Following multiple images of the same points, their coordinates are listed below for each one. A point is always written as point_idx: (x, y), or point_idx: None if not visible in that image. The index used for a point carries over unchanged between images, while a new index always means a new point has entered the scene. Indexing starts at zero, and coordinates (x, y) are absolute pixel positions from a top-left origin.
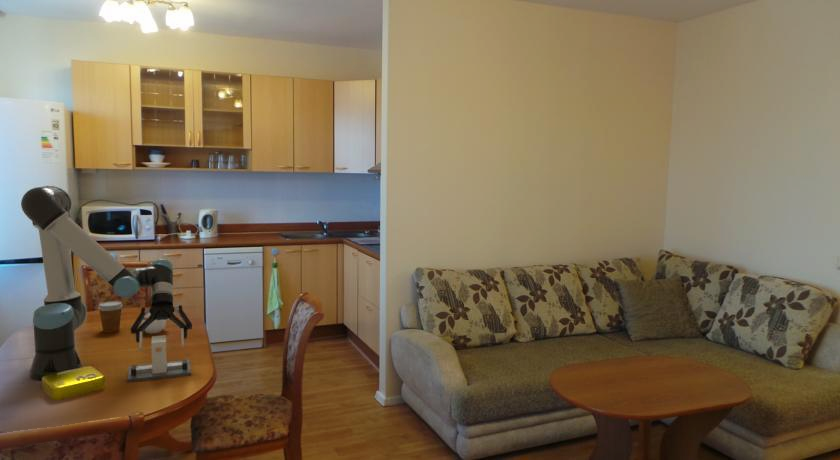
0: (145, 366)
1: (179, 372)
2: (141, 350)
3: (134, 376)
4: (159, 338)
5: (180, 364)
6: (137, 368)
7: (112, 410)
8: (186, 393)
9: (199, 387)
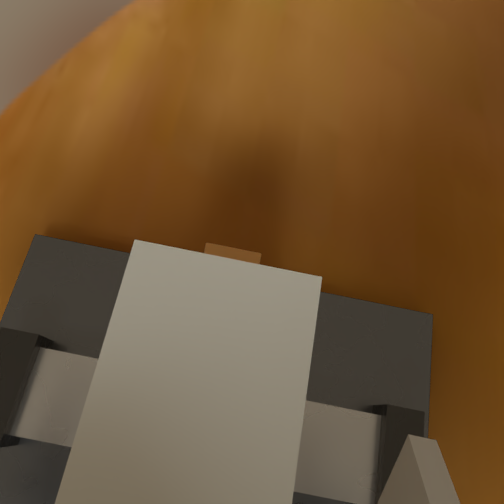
0: (307, 473)
1: (101, 270)
2: (390, 483)
3: (386, 351)
4: (171, 467)
5: (49, 365)
6: (370, 452)
7: (474, 13)
8: (161, 14)
9: (80, 45)
